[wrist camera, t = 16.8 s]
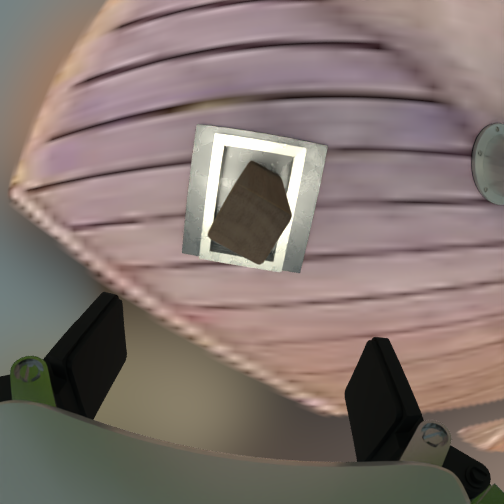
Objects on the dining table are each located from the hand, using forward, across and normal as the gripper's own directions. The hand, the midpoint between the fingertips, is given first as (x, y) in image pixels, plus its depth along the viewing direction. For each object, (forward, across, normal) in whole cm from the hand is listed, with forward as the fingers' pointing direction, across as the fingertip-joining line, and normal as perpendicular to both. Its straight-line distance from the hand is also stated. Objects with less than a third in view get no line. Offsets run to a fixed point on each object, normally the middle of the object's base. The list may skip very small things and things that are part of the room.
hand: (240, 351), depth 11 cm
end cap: (+30, +1, +1) cm, 30 cm away
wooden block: (+30, +2, +1) cm, 30 cm away
